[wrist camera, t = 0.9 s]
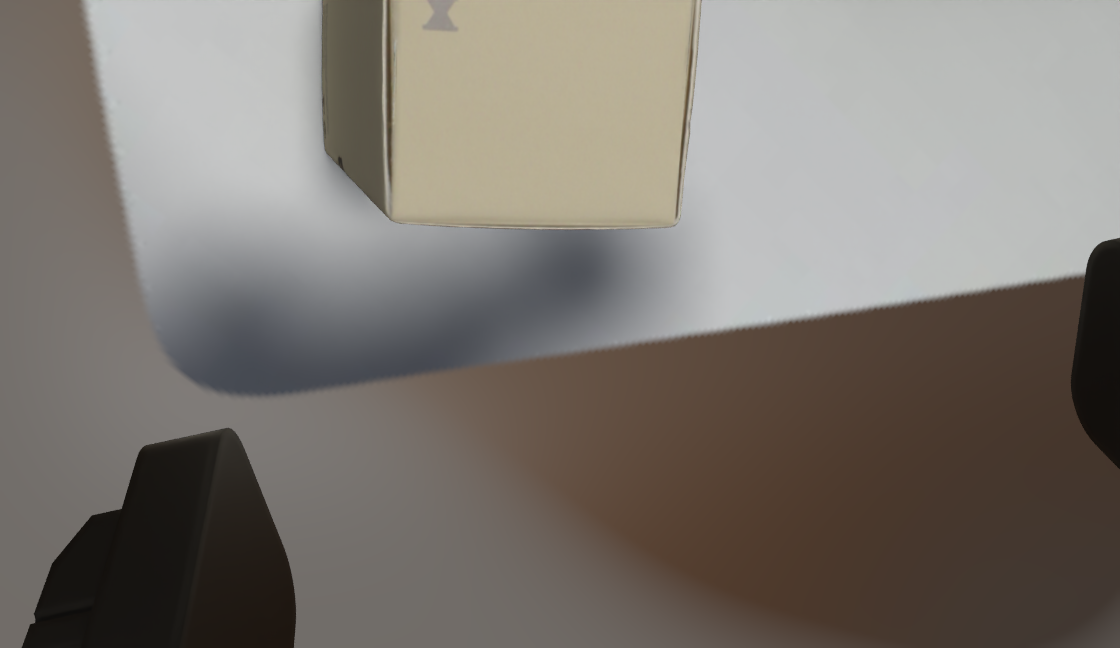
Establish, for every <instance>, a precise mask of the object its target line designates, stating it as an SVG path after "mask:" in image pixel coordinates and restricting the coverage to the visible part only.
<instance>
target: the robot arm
mask: <svg viewBox="0 0 1120 648" xmlns="http://www.w3.org/2000/svg"><path fill="white" fill-rule="evenodd" d="M1071 391H1072V398H1073V402H1074V406H1075V409H1076V412H1077V415H1078V418H1079V420H1080V422H1081V424H1082V426H1083V428H1084V430H1085V431H1086V433H1087V434H1088V436H1089V437H1090V439H1091V440H1092V441H1093V442H1094V443H1095V444H1096V445H1097V446H1098V447H1099V449H1100V450H1101V451H1103V453H1105V455H1106V456H1107V457H1108V458H1109V459H1110V460H1111V461H1112V462H1113V463H1114V464H1115V465H1116V466H1117V467H1118V468H1119V469H1120V238H1117V239H1113V240H1108V241H1104V242H1102V243H1100V244H1098V245H1097V246H1096V247H1095V248H1094V250H1093V251H1092V253H1091V255H1090V257H1089V260H1088V263H1087V268H1086V275H1085V282H1084V289H1083V297H1082V303H1081V310H1080V318H1079V325H1078V332H1077V339H1076V346H1075V354H1074V361H1073V368H1072V375H1071ZM34 615H35V619H36V620H35V623H34V624H30V627H29V629H28V632H27V635H26V638H25V640H24V643H23V646H22V648H294V637H295V624H296V605H295V593H294V586H293V580H292V574H291V570H290V566H289V562H288V558H287V556H286V552H285V549H284V547H283V544H282V542H281V539H280V537H279V534H278V532H277V529H276V527H275V524H274V522H273V519H272V517H271V514H270V512H269V509H268V507H267V504H266V502H265V499H264V497H263V495H262V492H261V489H260V487H259V484H258V482H257V479H256V477H255V474H254V472H253V469H252V467H251V464H250V462H249V459H248V457H247V454H246V452H245V449H244V447H243V445H242V443H241V441H240V439H239V437H238V436H237V434H236V433H235V432H234V431H233V430H232V429H230V428H225V429H220V430H215V431H211V432H206V433H202V434H197V435H193V436H188V437H183V438H179V439H174V440H169V441H165V442H160V443H155V444H150V445H146V446H144V447H143V448H142V449H141V450H140V452H139V454H138V457H137V460H136V463H135V466H134V470H133V473H132V476H131V480H130V483H129V486H128V490H127V493H126V496H125V500H124V504H123V506H122V509H120V510H115V511H110V512H106V513H102V514H97V515H92V516H91V517H90V518H89V520H88V521H87V522H86V523H85V524H84V526H83V527H82V528H81V529H80V531H79V532H78V533H77V534H76V535H75V537H74V538H73V539H72V540H71V541H70V543H69V544H68V545H67V546H66V547H65V549H64V550H63V551H62V552H61V554H60V555H59V556H58V557H57V558H56V560H55V561H54V562H53V563H52V566H51V568H50V571H49V574H48V577H47V579H46V582H45V585H44V588H43V590H42V594H41V596H40V599H39V602H38V604H37V607H36V610H35V613H34Z"/></svg>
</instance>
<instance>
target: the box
mask: <svg viewBox="0 0 1120 648" xmlns="http://www.w3.org/2000/svg"><path fill="white" fill-rule="evenodd" d="M701 1H702V0H323V19H322V90H323V127H324V144H325V151H326V153H327V154H328V155H329V156H330V157H331V158H332V160H333V161H334V162H335V163H336V164H338V165H339V166H340V168H341V169H342V170H343V171H344V172H345V173H346V174H347V175H348V176H349V177H350V178H351V179H352V180H353V181H354V182H355V183H356V185H357V186H358V187H359V188H360V189H361V190H362V191H363V192H364V193H365V194H366V195H367V196H368V197H369V199H370V200H371V201H372V202H373V203H374V204H375V205H376V206H377V207H378V208H379V209H380V210H381V211H382V212H383V213H384V214H385V215H386V216H387V217H388V218H389V219H390V220H391V221H393V222H396V223H400V224H415V225H429V226H446V227H472V228H497V229H534V230H589V229H644V228H669V227H673V226H675V225H676V224H677V223H678V221H679V220H680V216H681V206H682V195H683V184H684V175H685V167H686V159H687V151H688V144H689V136H690V120H691V113H692V106H693V96H694V87H695V77H696V65H697V55H698V40H699V27H700V15H701Z"/></svg>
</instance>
